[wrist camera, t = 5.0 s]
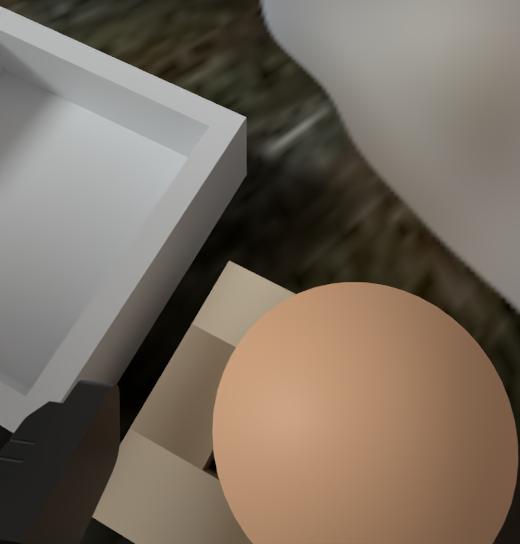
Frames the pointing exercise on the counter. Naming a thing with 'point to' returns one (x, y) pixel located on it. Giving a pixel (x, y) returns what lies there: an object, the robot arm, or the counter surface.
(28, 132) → the tray
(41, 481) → the robot arm
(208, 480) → the dowel holder
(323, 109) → the counter surface
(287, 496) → the dowel
